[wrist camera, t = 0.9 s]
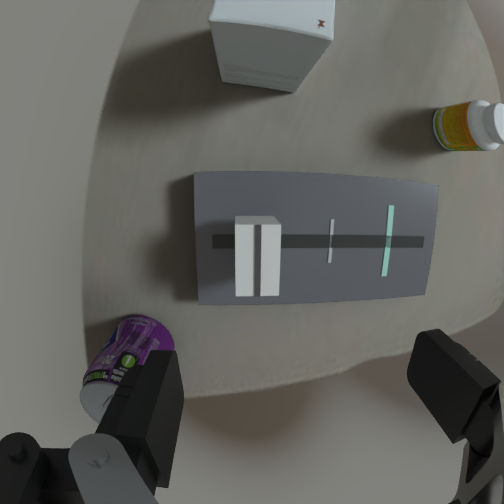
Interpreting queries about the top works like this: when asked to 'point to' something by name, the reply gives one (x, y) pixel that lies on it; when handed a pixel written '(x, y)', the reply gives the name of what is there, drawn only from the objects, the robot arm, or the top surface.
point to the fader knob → (257, 255)
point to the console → (318, 234)
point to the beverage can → (121, 360)
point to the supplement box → (270, 40)
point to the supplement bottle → (470, 126)
